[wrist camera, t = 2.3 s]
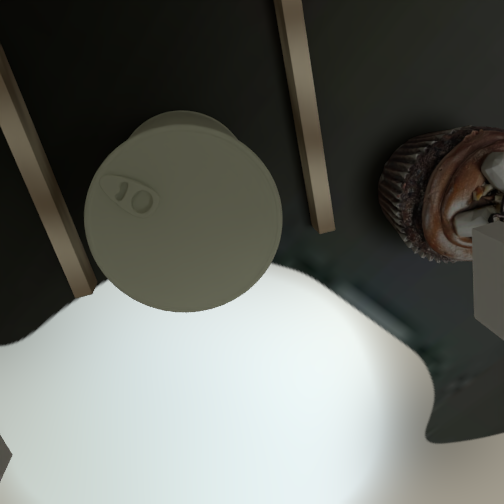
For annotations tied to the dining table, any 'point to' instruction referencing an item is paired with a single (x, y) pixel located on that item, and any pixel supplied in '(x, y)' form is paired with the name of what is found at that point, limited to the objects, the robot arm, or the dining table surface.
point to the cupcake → (444, 190)
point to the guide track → (50, 197)
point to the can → (183, 214)
